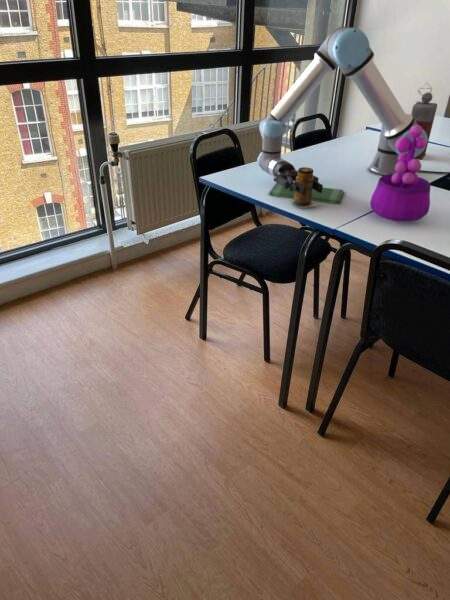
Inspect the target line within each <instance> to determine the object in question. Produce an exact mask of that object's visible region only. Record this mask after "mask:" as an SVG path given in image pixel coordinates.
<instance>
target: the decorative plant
mask: <svg viewBox="0 0 450 600" xmlns="http://www.w3.org/2000/svg"><path fill="white" fill-rule="evenodd" d="M422 130H423V129H422V127H421V126H419V125H414V126H413V127H412V128H411V129H410V130H409V134H410V136H411V137H412V138H413V141H412V143H411V140H410V138H408V137H402V138H399V139H398V140H397V142H396V149H397V150H398V151H399V152H401V153H402V154H400V155H399V157H398V162H397V164H396V166H395V171H396V172H397V173H396V174H388V175H384V176H383V175H381V177H379V179H378V180H377V184H376V187H375V189H374V190H373V193H372V194H371V197H370V201H369V206H370V208H371V209H372V211H373V212H374V213H375V215H377V216H379V217H381V218H383V219H386V220H389V221H394V222H399V223H401V222H403V223H405V222H415V221H419V220H421V219H423V218H424V217H425V216H427V215H428V213H429V212H430V206H431V183H430V181H428V180H427V179H425V178H423V177H421V176H418V173H419V172H418V171H420V170H422V163H421V160H418V159H414V154H415V146H416V148H417V149H423V148H424V147H425V146H426V144H427V141H426V139H425V138H421V137H420V136H421V135H422V133H423V131H422ZM418 137H420V138H418ZM416 138H418V139H417V140H416ZM407 151H408V154H407V153H404V152H407ZM401 173H403V174H401Z"/></svg>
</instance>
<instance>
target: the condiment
mask: <svg viewBox="0 0 450 600" xmlns="http://www.w3.org/2000/svg"><path fill="white" fill-rule="evenodd" d="M297 171H298V175H297V177H296V182H298V183H300V184H301V185H303V186H304V187H306V189H305V195H302V194H300V193H299V192H297V191H296V190H295V194H294V198H293V199H288V201H289V202H290V203H292V204H293V205H295V206H298V207H299V208H301V209H304V208H305V209H306V208H312V207H317V206H319V204H318V203H316V202H315V201H313V200H311V196H312V188H313V180H314V179H313V175H314V169H313V168H311V167H308V166H307V167H306V166H303V167H299V168H298V169H297Z"/></svg>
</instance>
